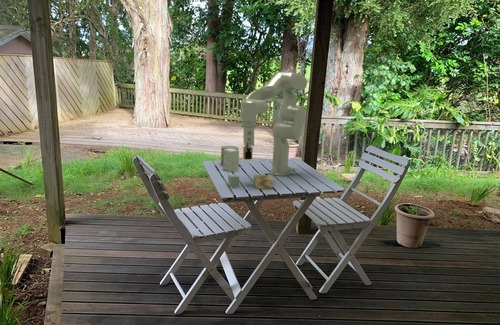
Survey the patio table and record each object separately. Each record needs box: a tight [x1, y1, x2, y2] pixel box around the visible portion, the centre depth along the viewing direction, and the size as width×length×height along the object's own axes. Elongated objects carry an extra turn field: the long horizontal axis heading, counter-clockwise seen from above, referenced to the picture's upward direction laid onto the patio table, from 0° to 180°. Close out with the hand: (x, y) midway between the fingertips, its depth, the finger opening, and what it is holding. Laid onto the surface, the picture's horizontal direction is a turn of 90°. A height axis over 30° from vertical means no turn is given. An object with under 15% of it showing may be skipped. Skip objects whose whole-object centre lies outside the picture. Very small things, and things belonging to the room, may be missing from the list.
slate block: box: [227, 174, 240, 188], centre depth 198 cm, size 4×4×6 cm
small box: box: [222, 149, 240, 173], centre depth 233 cm, size 8×6×13 cm
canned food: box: [220, 145, 239, 167], centre depth 246 cm, size 11×11×12 cm
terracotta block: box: [242, 146, 254, 161], centre depth 200 cm, size 4×4×6 cm
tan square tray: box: [253, 174, 274, 190], centre depth 201 cm, size 9×9×5 cm
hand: (247, 157), depth 201 cm, fingers closed on terracotta block, 4 cm apart
